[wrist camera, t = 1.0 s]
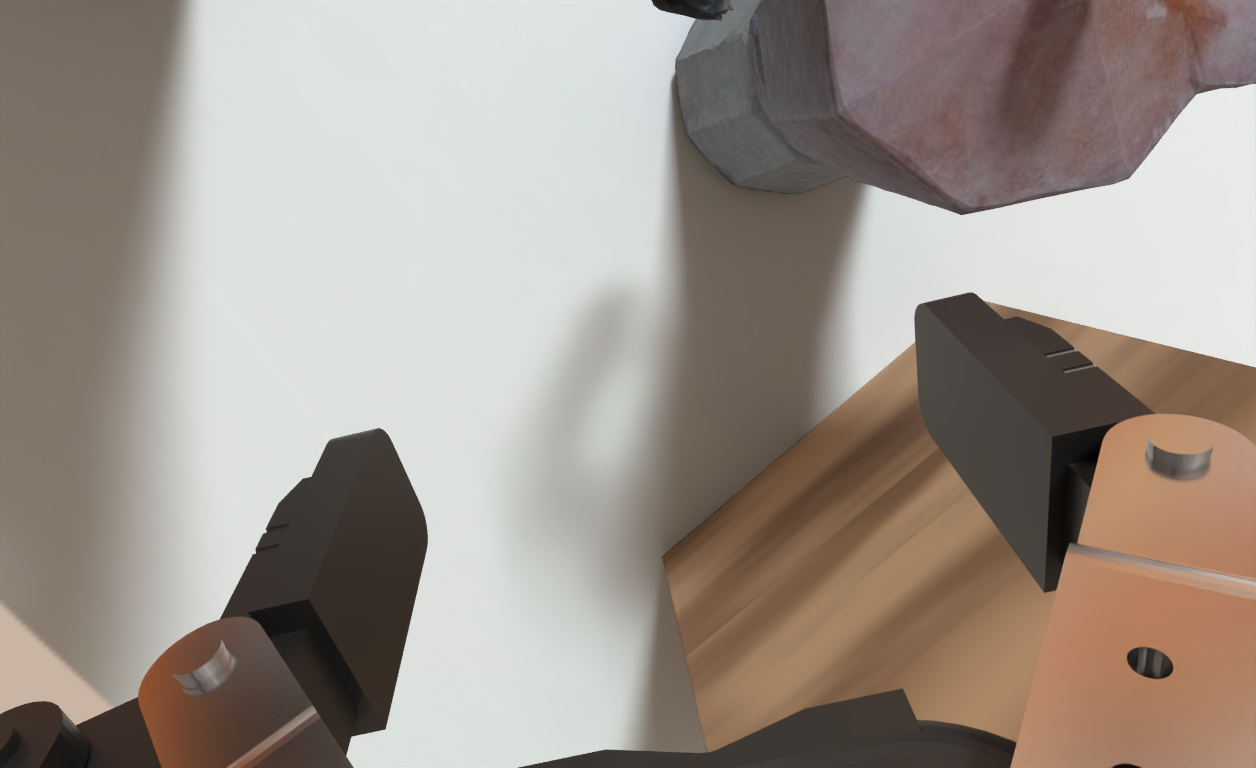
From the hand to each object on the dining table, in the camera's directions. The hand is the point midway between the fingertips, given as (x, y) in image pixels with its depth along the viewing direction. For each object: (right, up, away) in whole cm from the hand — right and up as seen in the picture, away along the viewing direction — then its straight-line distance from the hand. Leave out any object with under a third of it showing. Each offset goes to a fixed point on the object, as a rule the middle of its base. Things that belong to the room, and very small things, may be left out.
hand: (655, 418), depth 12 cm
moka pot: (+6, +13, +21) cm, 25 cm away
